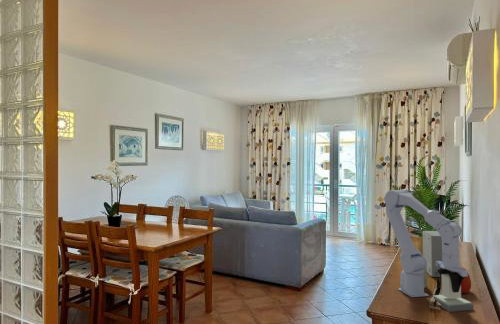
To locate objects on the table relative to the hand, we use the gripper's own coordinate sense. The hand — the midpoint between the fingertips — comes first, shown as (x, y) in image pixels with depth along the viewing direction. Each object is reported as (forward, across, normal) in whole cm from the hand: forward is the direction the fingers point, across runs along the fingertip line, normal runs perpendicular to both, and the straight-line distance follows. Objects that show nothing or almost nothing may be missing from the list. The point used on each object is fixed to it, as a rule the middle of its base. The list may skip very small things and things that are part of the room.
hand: (451, 289), depth 134 cm
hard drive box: (+6, -38, +22) cm, 44 cm away
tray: (+6, 0, 0) cm, 6 cm away
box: (+6, -22, +2) cm, 23 cm away
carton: (+2, 0, 0) cm, 2 cm away
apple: (+6, -14, +14) cm, 21 cm away
